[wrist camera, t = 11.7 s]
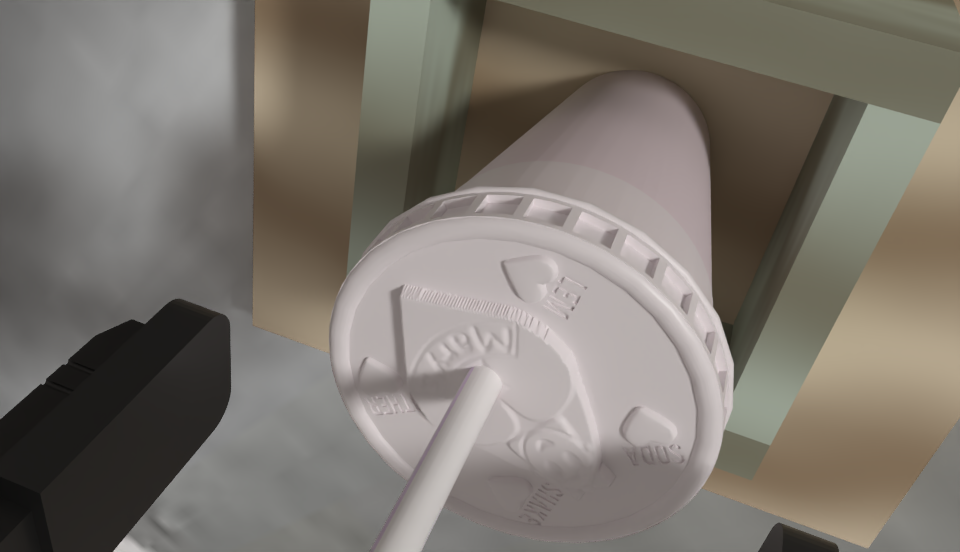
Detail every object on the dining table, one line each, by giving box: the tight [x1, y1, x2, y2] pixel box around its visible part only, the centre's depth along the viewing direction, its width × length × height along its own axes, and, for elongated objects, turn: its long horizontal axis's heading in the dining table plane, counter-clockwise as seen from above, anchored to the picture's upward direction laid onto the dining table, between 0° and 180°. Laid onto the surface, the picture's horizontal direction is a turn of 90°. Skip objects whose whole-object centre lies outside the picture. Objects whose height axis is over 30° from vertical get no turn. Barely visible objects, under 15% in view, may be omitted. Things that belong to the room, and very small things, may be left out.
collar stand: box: [253, 0, 960, 548], centre depth 20 cm, size 20×20×6 cm
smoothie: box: [329, 70, 734, 552], centre depth 15 cm, size 6×6×14 cm
